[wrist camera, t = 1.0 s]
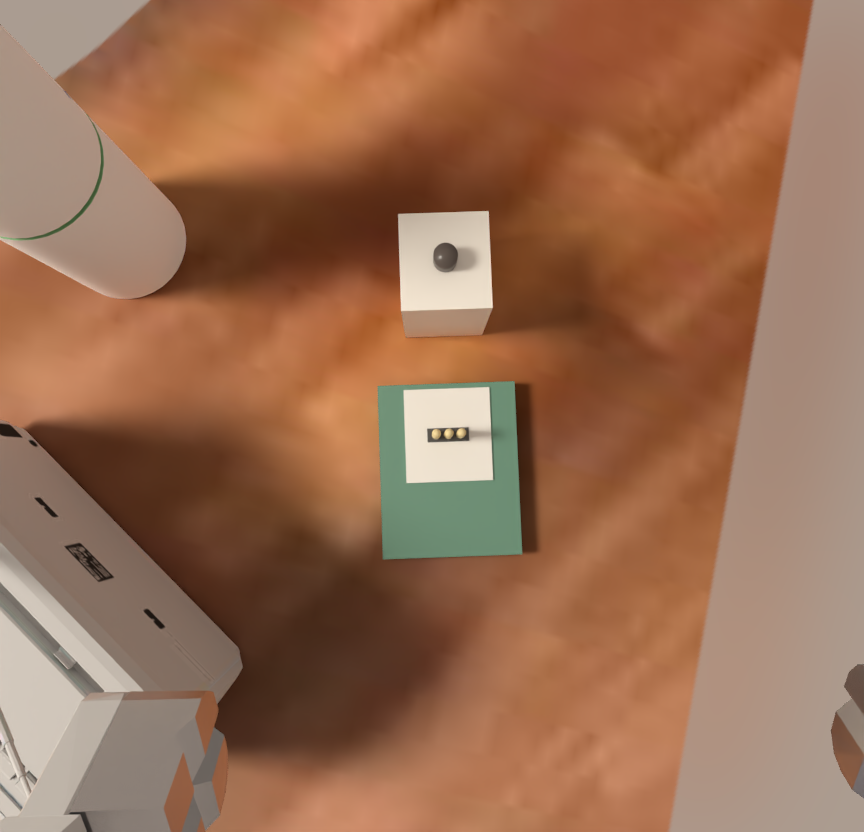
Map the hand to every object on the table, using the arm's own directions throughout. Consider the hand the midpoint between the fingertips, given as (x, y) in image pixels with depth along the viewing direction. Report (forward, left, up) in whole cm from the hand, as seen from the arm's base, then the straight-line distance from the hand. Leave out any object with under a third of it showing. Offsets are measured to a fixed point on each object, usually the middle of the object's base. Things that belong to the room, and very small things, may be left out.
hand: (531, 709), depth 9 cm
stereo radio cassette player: (-2, +21, -32) cm, 39 cm away
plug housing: (+14, 0, -32) cm, 35 cm away
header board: (+3, 0, -32) cm, 32 cm away
